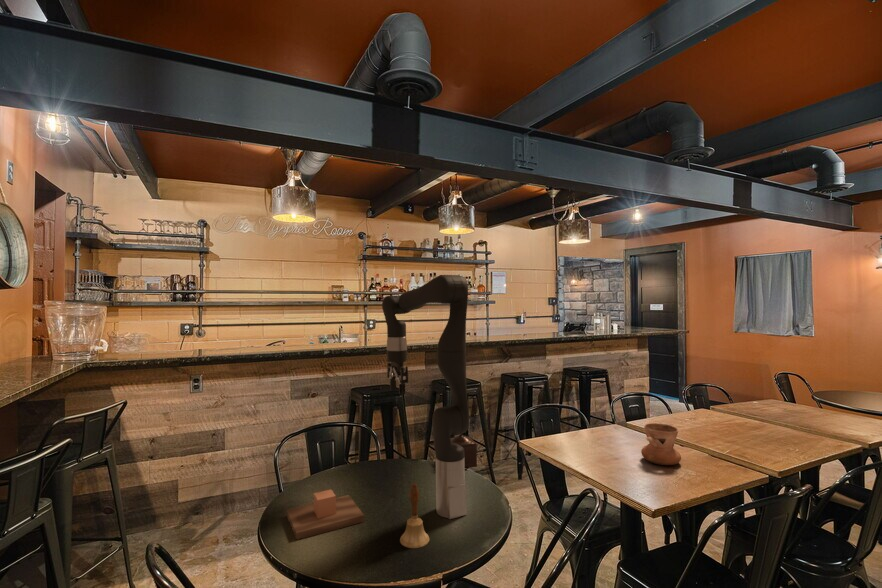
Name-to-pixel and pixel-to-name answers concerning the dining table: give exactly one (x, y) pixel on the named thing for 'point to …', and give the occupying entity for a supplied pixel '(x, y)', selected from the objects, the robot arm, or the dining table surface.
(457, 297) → the robot arm
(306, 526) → the walnut board
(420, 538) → the hand bell
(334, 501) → the terracotta cube
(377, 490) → the dining table surface
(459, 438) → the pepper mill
